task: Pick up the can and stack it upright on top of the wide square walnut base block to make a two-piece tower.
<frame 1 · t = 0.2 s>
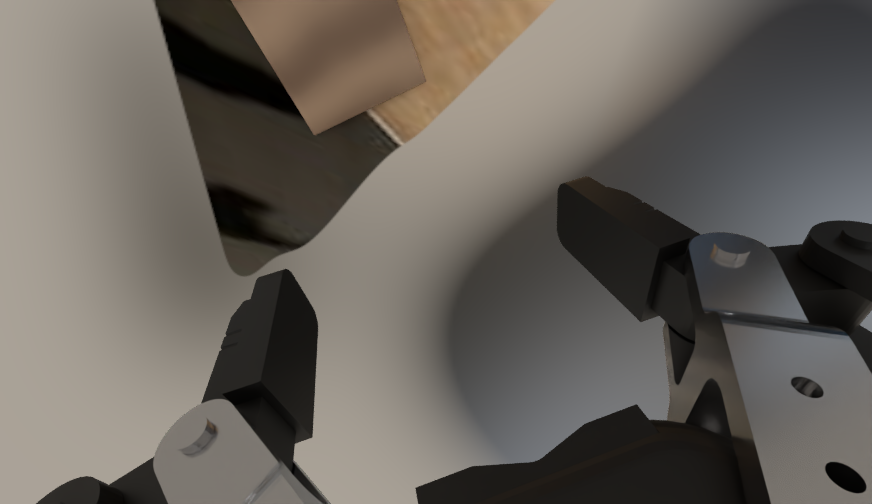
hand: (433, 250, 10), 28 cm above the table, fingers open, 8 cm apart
base block: (337, 38, 30), on the table, touching instruction page
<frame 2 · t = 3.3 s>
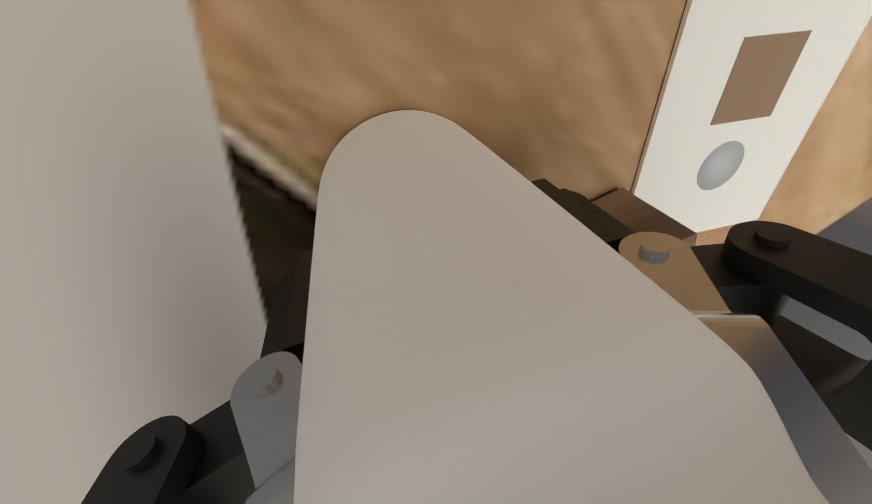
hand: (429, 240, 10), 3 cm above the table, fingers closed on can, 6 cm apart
can: (406, 193, 13), on the table, touching gripper
instruction page: (736, 116, 15), on the table
base block: (533, 311, 19), on the table, touching instruction page
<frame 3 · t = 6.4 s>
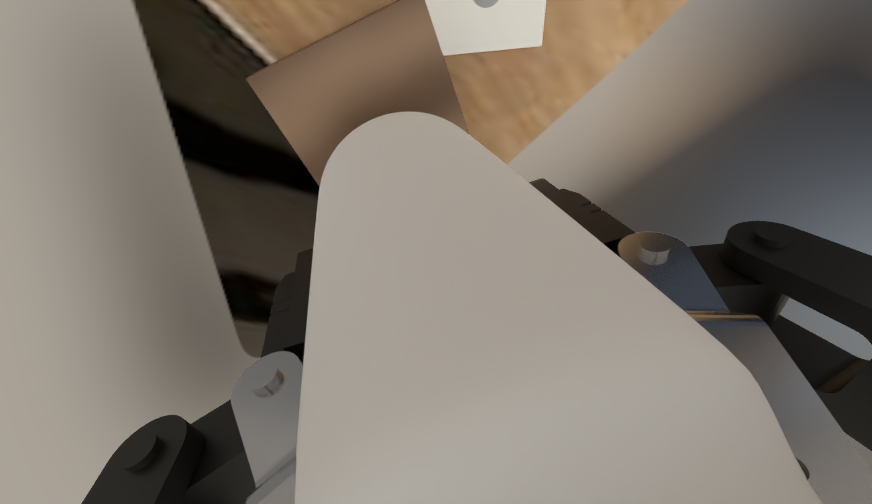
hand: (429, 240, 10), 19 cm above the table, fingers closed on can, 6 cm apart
can: (406, 194, 13), point 15 cm above the table, touching gripper
base block: (373, 113, 25), on the table, touching instruction page
when the fingers open (8 cm above the table, at t = 9.4 s): can stays where it is, resting on base block.
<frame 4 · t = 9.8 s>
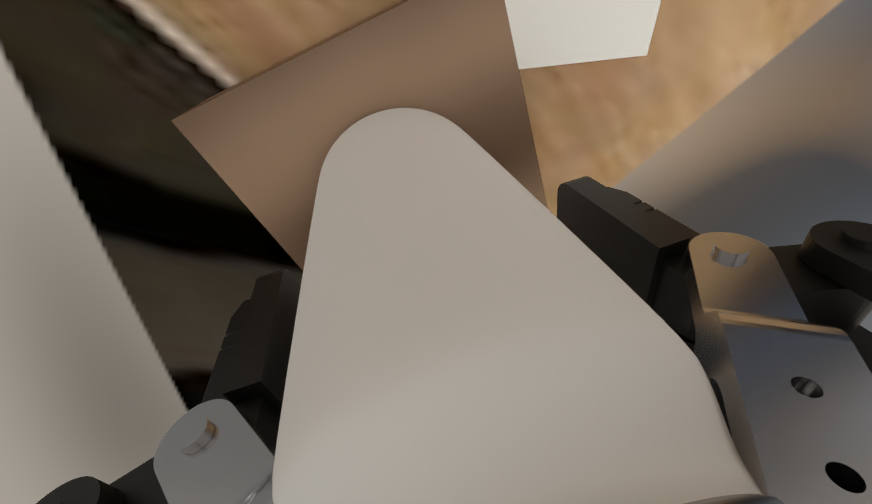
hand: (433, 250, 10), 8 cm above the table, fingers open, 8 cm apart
can: (403, 188, 14), point 4 cm above the table, touching base block
base block: (393, 157, 17), on the table, touching can, instruction page
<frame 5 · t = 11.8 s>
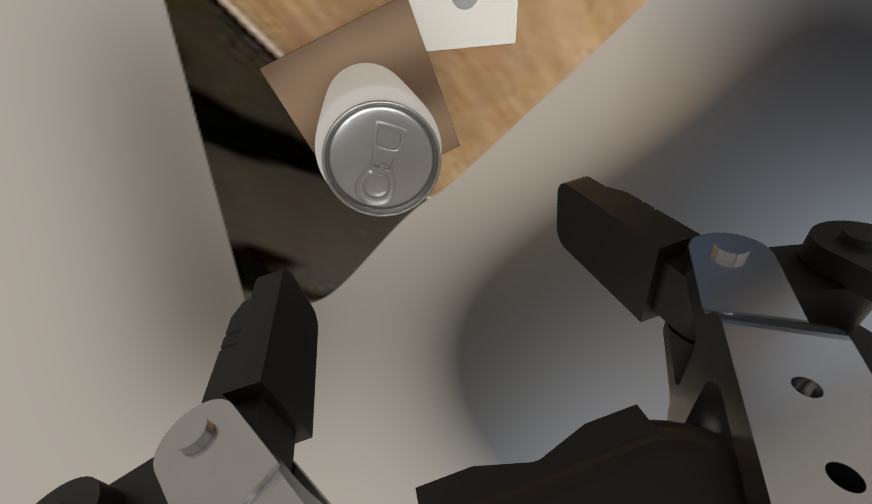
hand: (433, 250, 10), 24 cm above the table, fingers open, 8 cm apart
can: (369, 109, 26), point 4 cm above the table, touching base block
base block: (368, 101, 29), on the table, touching can, instruction page
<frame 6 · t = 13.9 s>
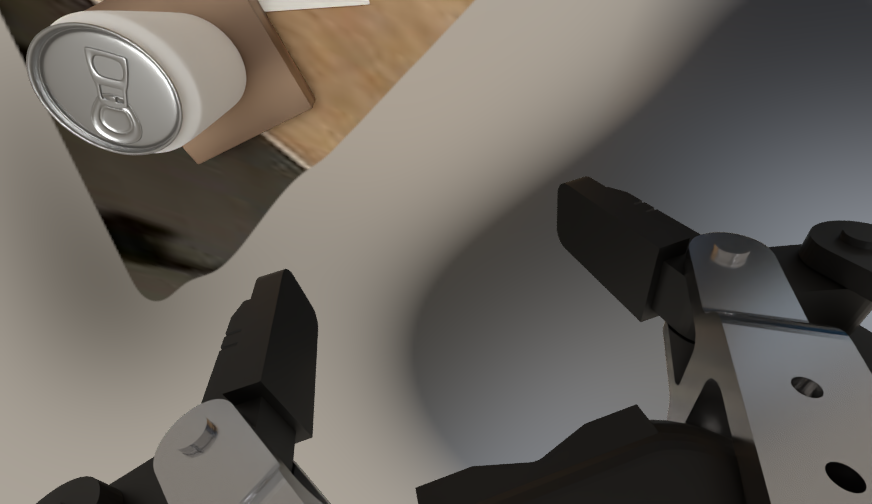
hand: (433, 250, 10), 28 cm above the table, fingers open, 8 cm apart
can: (200, 65, 25), point 4 cm above the table, touching base block
base block: (220, 63, 28), on the table, touching can, instruction page
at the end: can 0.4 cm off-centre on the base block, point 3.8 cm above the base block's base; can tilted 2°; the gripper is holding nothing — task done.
